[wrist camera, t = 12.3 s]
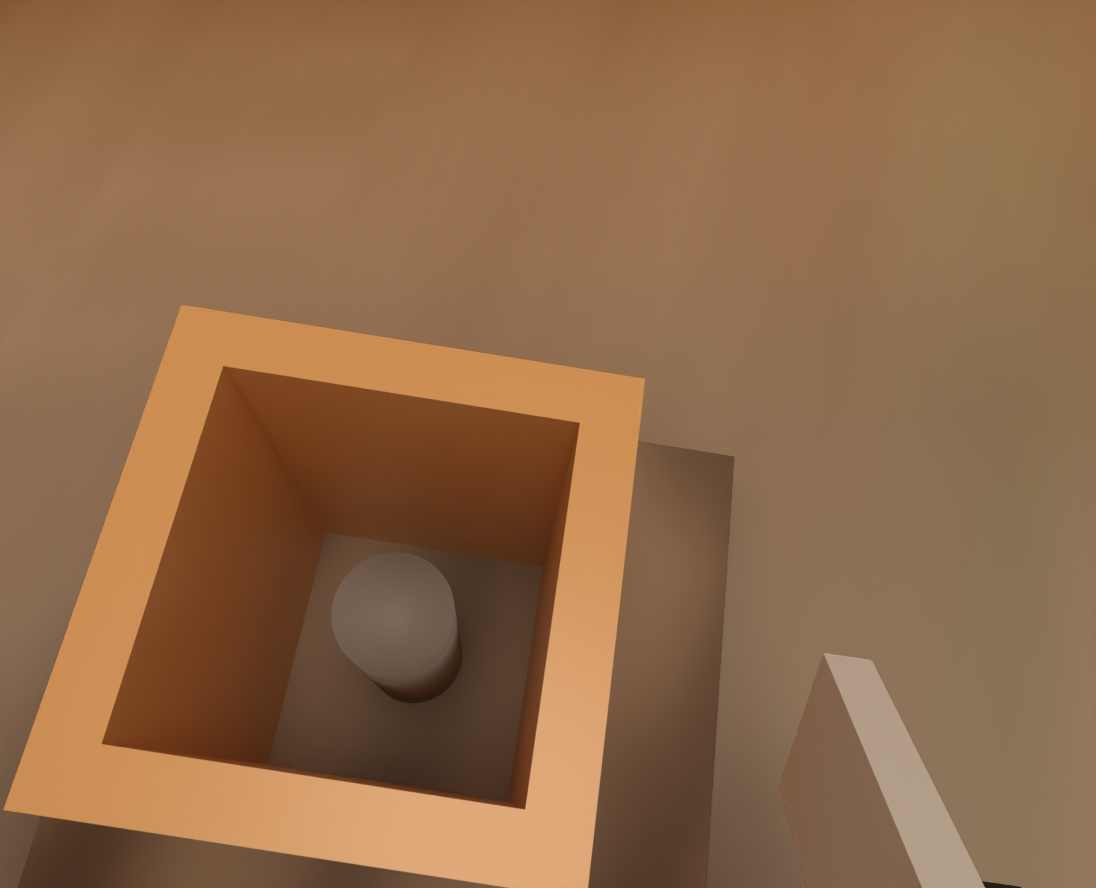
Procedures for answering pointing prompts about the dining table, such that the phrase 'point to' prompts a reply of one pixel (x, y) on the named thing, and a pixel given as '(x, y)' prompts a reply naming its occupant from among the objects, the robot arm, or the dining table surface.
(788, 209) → the dining table surface
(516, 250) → the dining table surface
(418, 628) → the shaft stand
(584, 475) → the spacer sleeve
